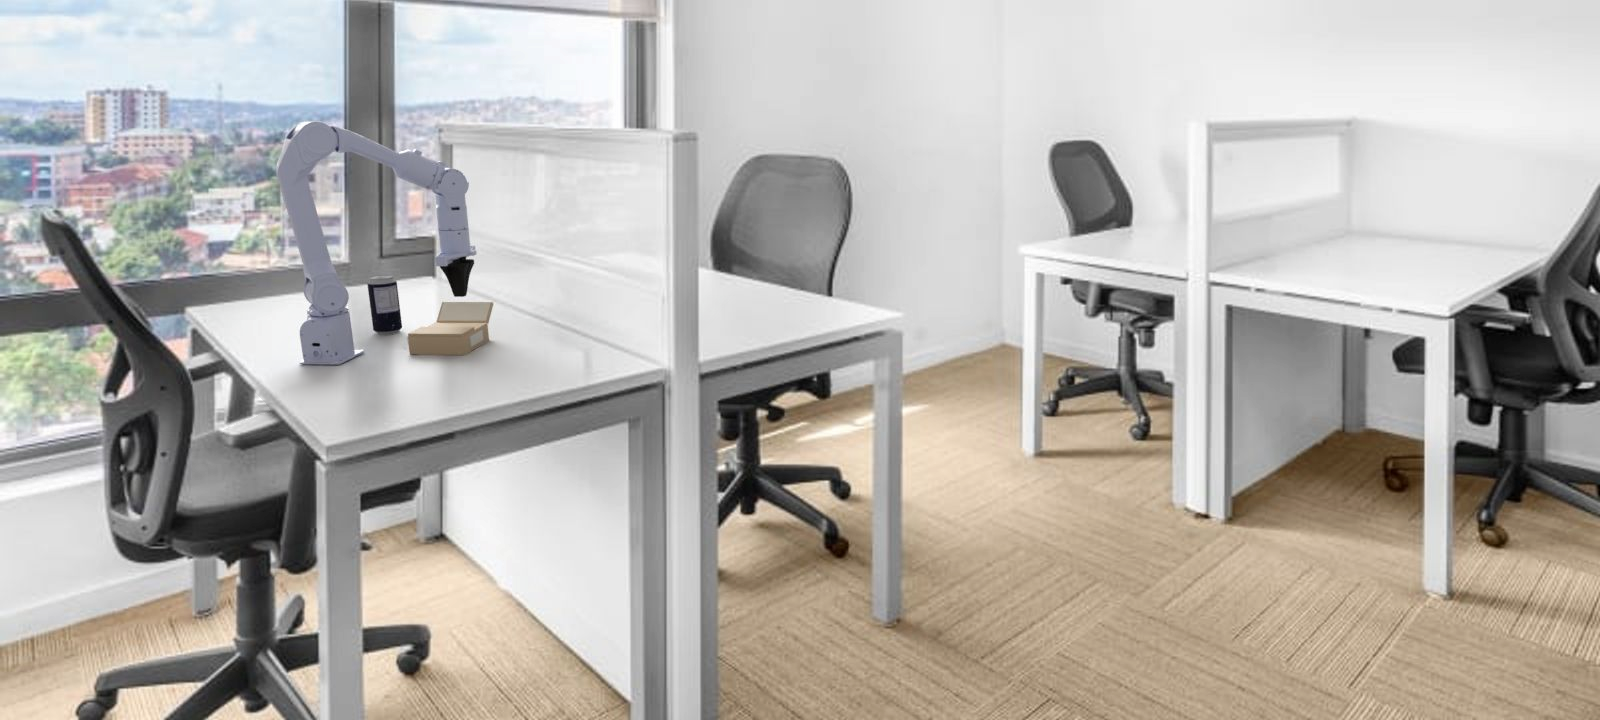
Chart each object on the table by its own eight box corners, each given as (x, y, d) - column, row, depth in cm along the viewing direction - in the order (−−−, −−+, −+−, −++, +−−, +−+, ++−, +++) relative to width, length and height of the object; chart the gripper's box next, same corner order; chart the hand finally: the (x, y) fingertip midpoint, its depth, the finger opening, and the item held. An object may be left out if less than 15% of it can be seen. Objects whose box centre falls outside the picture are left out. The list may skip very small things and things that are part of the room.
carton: (465, 354, 194) (463, 333, 193) (409, 354, 195) (407, 333, 194) (489, 340, 206) (487, 320, 204) (437, 339, 207) (434, 319, 206)
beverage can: (407, 329, 216) (400, 274, 213) (394, 335, 211) (387, 279, 208) (382, 329, 217) (375, 274, 214) (368, 335, 211) (361, 279, 208)
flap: (492, 302, 207) (493, 303, 208) (442, 301, 208) (443, 303, 209) (487, 321, 205) (488, 323, 205) (436, 321, 206) (437, 323, 206)
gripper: (457, 233, 194) (464, 303, 197) (487, 224, 208) (493, 289, 211) (422, 233, 195) (429, 303, 198) (454, 224, 209) (460, 289, 212)
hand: (460, 296), depth 205 cm, fingers closed
